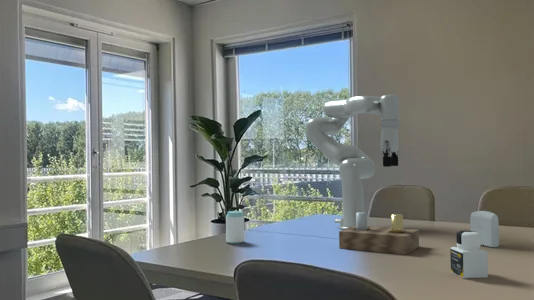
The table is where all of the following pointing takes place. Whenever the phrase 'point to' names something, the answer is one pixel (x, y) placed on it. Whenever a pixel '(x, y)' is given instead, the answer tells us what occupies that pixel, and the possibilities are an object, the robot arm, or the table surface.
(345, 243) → the bore block
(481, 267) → the medicine bottle
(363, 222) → the grey pin
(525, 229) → the table surface
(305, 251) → the table surface
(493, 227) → the photo printer
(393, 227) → the brass pin
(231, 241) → the can
